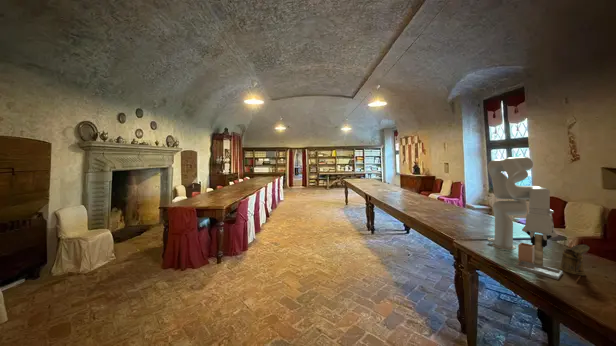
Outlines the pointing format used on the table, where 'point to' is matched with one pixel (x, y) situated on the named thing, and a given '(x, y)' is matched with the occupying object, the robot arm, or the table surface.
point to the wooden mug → (574, 259)
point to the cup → (526, 252)
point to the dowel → (538, 250)
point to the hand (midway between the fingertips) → (538, 245)
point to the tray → (539, 269)
